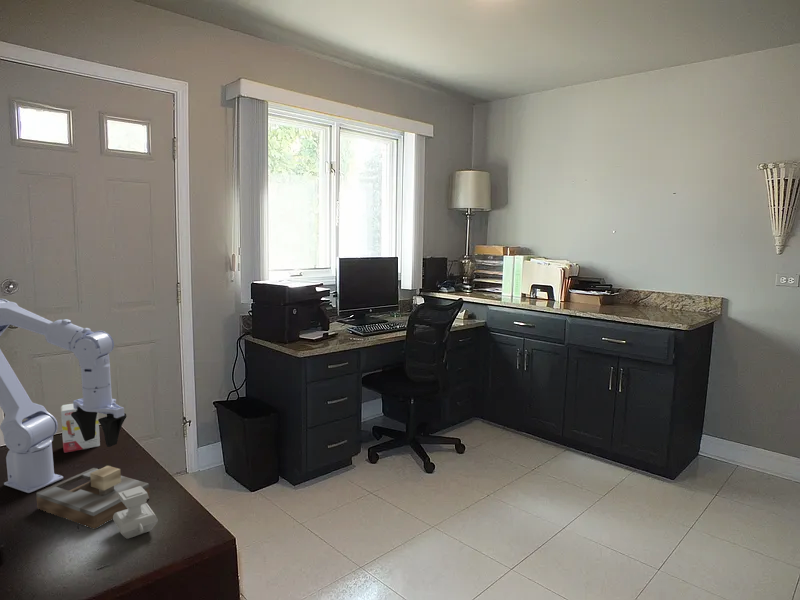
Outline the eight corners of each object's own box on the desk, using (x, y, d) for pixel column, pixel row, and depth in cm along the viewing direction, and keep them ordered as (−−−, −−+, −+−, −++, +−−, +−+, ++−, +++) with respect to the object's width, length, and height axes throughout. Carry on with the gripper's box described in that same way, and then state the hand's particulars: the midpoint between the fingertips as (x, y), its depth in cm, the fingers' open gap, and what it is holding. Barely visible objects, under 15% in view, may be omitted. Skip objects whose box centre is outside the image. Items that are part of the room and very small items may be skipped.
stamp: (161, 535, 101) (158, 494, 100) (123, 548, 97) (121, 506, 95) (147, 516, 108) (145, 478, 107) (111, 527, 103) (109, 488, 102)
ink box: (63, 453, 137) (59, 410, 135) (63, 446, 141) (59, 405, 139) (100, 446, 142) (97, 404, 140) (99, 440, 146) (96, 399, 144)
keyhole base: (37, 508, 110) (36, 492, 109) (94, 482, 122) (93, 467, 121) (94, 529, 103) (93, 512, 102) (149, 498, 114) (148, 483, 114)
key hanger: (89, 505, 110) (87, 473, 109) (110, 495, 114) (108, 464, 113) (104, 510, 108) (102, 478, 107) (125, 500, 112) (123, 468, 111)
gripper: (134, 384, 118) (137, 441, 120) (91, 376, 124) (95, 431, 126) (106, 393, 112) (110, 453, 113) (62, 384, 117) (67, 441, 119)
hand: (100, 442), depth 119 cm, fingers open, 7 cm apart
